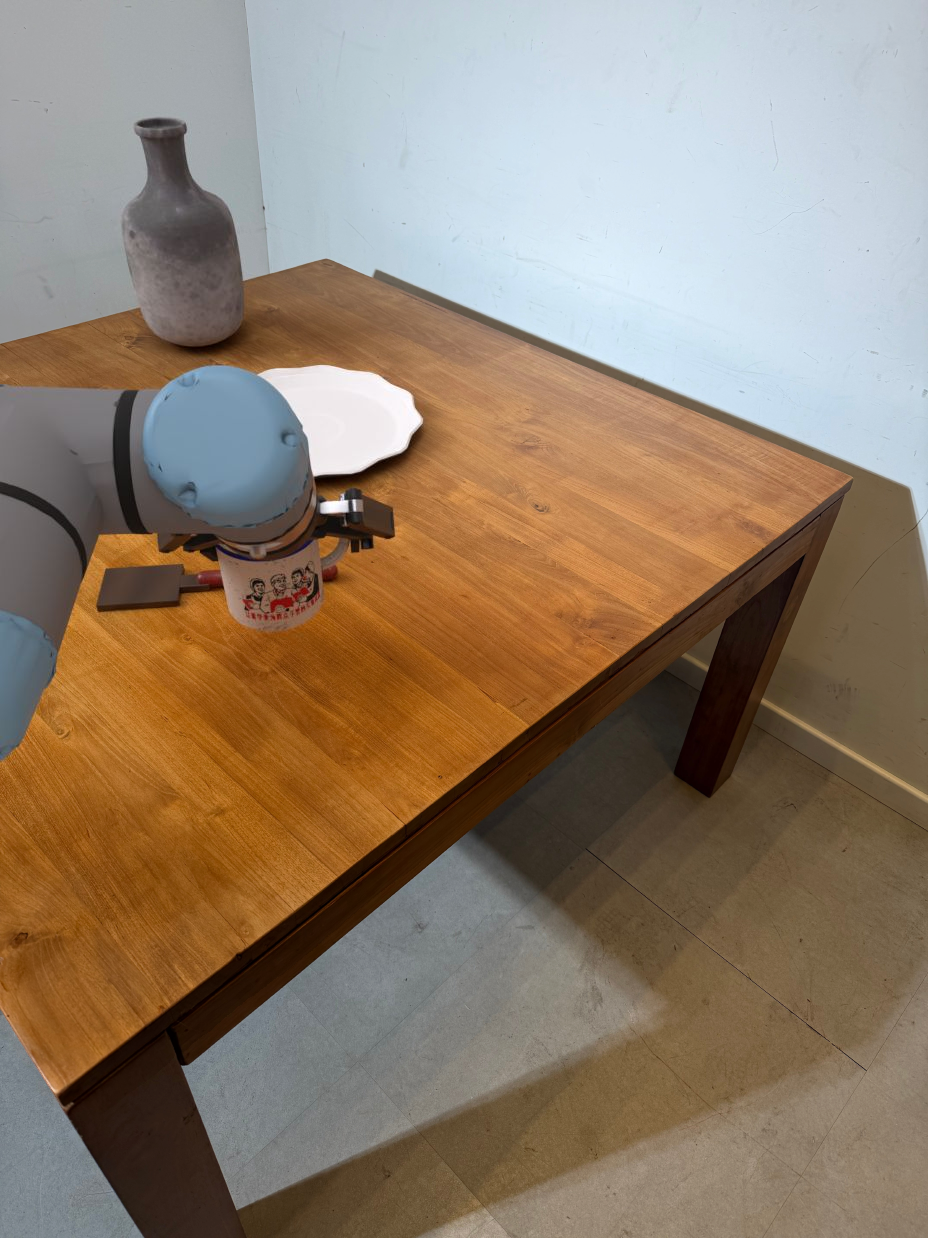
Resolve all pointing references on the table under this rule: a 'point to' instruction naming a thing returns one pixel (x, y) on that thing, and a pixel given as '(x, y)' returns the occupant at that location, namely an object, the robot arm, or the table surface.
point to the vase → (181, 246)
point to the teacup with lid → (276, 585)
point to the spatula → (159, 585)
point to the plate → (347, 416)
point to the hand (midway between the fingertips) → (285, 542)
